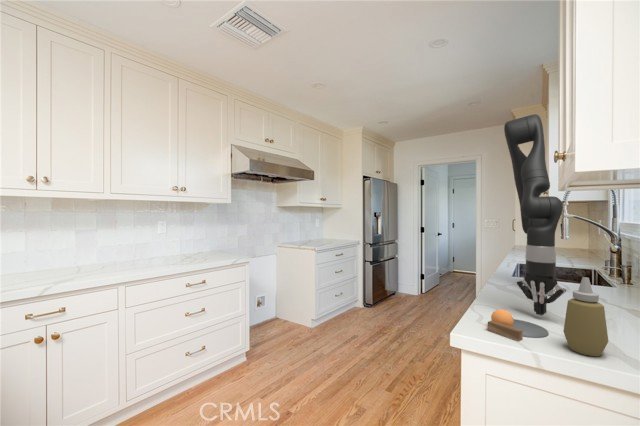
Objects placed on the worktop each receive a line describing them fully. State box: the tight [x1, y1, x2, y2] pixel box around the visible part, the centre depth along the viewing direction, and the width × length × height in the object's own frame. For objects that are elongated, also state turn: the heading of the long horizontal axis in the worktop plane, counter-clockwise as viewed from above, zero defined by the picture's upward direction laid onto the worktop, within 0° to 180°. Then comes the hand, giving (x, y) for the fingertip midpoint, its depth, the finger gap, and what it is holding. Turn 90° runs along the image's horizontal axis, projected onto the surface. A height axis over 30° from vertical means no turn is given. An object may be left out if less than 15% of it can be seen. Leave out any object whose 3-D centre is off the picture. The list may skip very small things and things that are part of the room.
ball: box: [490, 308, 514, 327], centre depth 83 cm, size 6×6×6 cm
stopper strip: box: [487, 319, 523, 342], centre depth 79 cm, size 2×8×2 cm, turn 32°
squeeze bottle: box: [563, 276, 609, 357], centre depth 70 cm, size 8×8×18 cm
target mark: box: [512, 318, 549, 339], centre depth 84 cm, size 13×13×1 cm
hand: (539, 314), depth 91 cm, fingers closed
